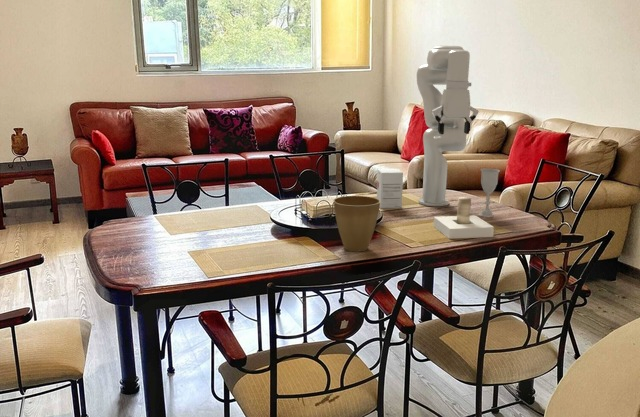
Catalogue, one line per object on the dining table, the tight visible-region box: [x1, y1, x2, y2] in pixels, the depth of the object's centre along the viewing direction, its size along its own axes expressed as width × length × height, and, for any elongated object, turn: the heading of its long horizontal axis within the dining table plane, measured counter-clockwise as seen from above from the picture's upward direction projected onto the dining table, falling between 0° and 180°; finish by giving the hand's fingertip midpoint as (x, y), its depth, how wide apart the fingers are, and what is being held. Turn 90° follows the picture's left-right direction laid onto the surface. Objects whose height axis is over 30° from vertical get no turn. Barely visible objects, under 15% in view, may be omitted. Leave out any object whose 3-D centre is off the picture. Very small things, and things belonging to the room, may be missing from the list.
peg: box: [456, 196, 472, 224], centre depth 222 cm, size 4×4×12 cm
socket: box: [433, 214, 495, 240], centre depth 223 cm, size 16×16×4 cm
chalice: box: [479, 167, 501, 218], centre depth 243 cm, size 7×7×18 cm
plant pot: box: [333, 195, 380, 252], centre depth 201 cm, size 15×15×16 cm
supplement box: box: [376, 168, 404, 209], centre depth 257 cm, size 9×9×15 cm
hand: (453, 133), depth 228 cm, fingers open, 9 cm apart
